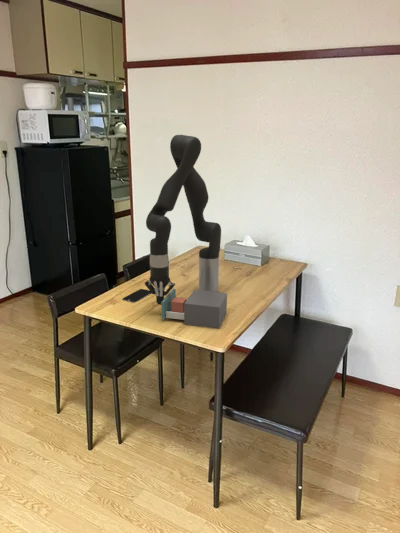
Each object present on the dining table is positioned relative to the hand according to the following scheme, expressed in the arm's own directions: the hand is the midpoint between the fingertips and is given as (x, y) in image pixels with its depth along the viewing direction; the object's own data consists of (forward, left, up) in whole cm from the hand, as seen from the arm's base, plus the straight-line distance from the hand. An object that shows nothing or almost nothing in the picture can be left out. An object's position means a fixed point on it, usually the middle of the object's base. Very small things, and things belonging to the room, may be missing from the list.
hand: (160, 303), depth 178 cm
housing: (0, +19, -4) cm, 20 cm away
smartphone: (-16, -17, -5) cm, 23 cm away
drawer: (0, +9, -3) cm, 10 cm away
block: (0, +8, -2) cm, 8 cm away
